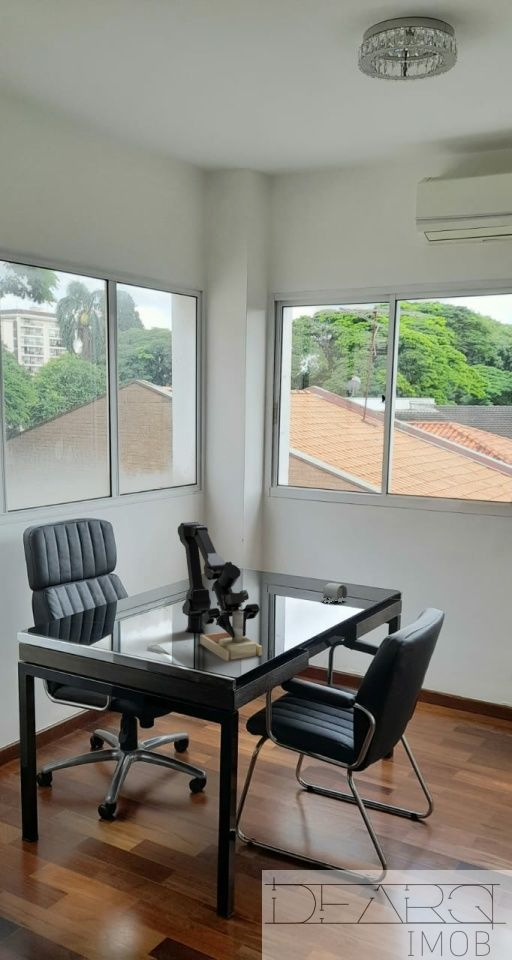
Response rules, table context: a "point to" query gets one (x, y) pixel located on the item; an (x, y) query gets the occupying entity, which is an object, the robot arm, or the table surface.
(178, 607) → the table surface
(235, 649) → the peg on wooden base
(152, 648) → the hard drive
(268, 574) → the table surface
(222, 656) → the frame
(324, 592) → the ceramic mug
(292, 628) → the table surface
